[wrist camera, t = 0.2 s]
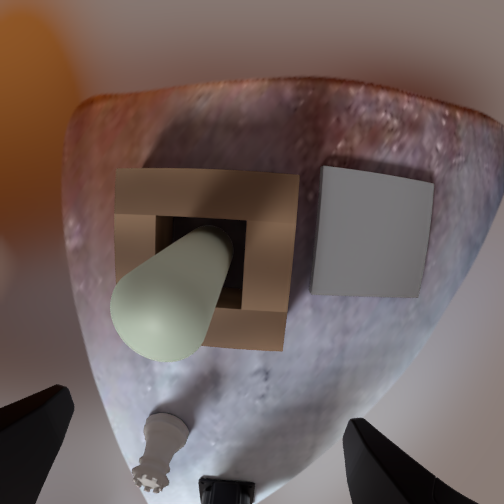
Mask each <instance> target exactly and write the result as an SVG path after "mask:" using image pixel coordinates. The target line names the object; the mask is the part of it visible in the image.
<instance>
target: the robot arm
mask: <svg viewBox="0 0 504 504" xmlns="http://www.w3.org/2000/svg"><path fill="white" fill-rule="evenodd" d="M73 412H74V403H73V400H72V397H71V395H70V391H69V389H68V388H67V387H65V386H62V385H59V384H56V385H54V386H52V387H49V388H47V389H45V390H42V391H40V392H38V393H35V394H33V395H31V396H28V397H26V398H24V399H21V400H19V401H17V402H14V403H12V404H9V405H7V406H4V407H2V408H0V504H35V503H36V501H37V498H38V496H39V494H40V491H41V489H42V487H43V484H44V482H45V480H46V478H47V475H48V473H49V471H50V469H51V467H52V464H53V462H54V460H55V458H56V456H57V454H58V451H59V450H60V447H61V445H62V443H63V440H64V437H65V434H66V432H67V429H68V426H69V423H70V420H71V418H72V415H73ZM343 449H344V457H345V467H346V476H347V483H348V487H349V491H350V496H351V500H352V504H478V503H476V502H475V501H473V500H471V499H469V498H467V497H465V496H464V495H462V494H460V493H459V492H457V491H455V490H454V489H453V488H451V487H450V486H448V485H447V484H445V483H444V482H443V481H441V480H440V479H439V478H436V477H435V475H433V474H432V473H430V472H429V471H428V470H427V469H425V468H424V467H423V466H422V465H420V464H419V463H418V462H417V461H415V460H414V459H413V458H411V457H410V456H409V455H408V454H406V453H405V452H404V451H403V450H401V449H400V448H399V447H398V446H397V445H395V444H394V443H393V442H392V441H390V440H389V439H388V438H387V437H386V436H384V435H383V434H382V433H381V432H379V431H378V430H377V429H376V428H375V427H373V426H372V425H371V424H370V423H369V422H367V421H366V420H365V419H364V418H352V419H350V420H349V422H348V424H347V427H346V430H345V432H344V435H343ZM254 489H255V484H254V483H250V482H233V481H221V480H211V479H203V478H201V479H199V491H200V500H201V504H252V502H253V496H254Z"/></svg>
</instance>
